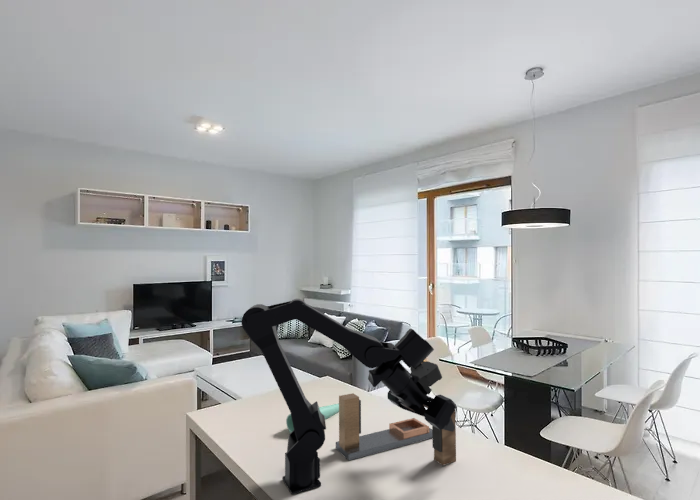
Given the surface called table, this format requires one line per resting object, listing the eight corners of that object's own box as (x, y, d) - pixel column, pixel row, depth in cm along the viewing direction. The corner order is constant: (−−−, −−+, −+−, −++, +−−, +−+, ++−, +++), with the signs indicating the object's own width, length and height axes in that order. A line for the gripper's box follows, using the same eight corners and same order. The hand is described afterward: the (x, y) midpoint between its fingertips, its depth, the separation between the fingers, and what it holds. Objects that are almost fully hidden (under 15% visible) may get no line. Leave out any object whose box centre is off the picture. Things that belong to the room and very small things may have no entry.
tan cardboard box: (440, 466, 88) (440, 412, 89) (432, 460, 91) (431, 408, 91) (456, 461, 90) (455, 408, 91) (447, 455, 93) (446, 404, 93)
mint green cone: (357, 389, 126) (300, 416, 104) (357, 407, 126) (300, 437, 104) (343, 386, 129) (286, 411, 107) (343, 403, 129) (285, 431, 107)
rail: (348, 460, 91) (348, 402, 91) (335, 448, 97) (335, 393, 97) (435, 437, 103) (434, 385, 103) (419, 427, 109) (418, 378, 109)
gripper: (448, 361, 80) (488, 405, 85) (396, 345, 97) (432, 382, 101) (418, 407, 76) (461, 450, 81) (370, 381, 93) (408, 419, 97)
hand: (439, 422), depth 90 cm, fingers open, 9 cm apart
